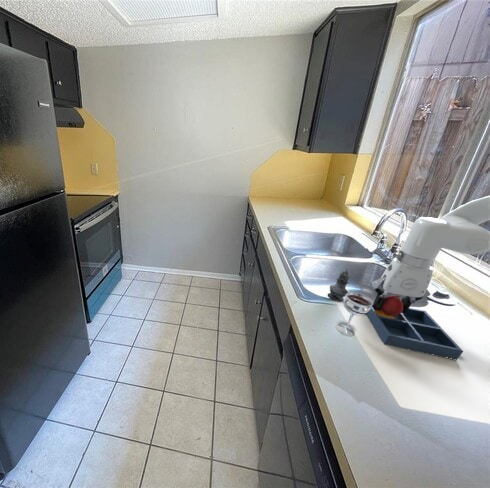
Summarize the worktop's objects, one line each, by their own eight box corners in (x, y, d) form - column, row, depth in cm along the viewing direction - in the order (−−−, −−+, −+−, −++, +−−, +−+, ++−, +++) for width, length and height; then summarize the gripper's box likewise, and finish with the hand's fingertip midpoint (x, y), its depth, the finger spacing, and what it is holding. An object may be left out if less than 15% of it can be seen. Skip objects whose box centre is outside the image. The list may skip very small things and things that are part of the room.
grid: (420, 318, 86) (425, 310, 85) (456, 360, 71) (463, 351, 70) (361, 307, 90) (365, 299, 89) (383, 344, 75) (388, 335, 74)
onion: (374, 314, 84) (384, 294, 80) (376, 306, 88) (386, 287, 84) (396, 323, 80) (408, 303, 77) (398, 314, 84) (409, 295, 81)
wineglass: (343, 320, 84) (357, 290, 78) (363, 335, 78) (379, 304, 73) (327, 324, 82) (340, 293, 76) (347, 340, 76) (362, 308, 71)
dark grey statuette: (323, 292, 98) (333, 265, 92) (338, 293, 98) (350, 265, 92) (332, 302, 92) (343, 273, 87) (348, 302, 92) (361, 274, 87)
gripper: (386, 260, 74) (363, 309, 82) (460, 271, 70) (428, 321, 78) (375, 249, 81) (354, 295, 89) (442, 258, 77) (414, 306, 84)
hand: (389, 307), depth 83 cm, fingers closed on onion, 5 cm apart
